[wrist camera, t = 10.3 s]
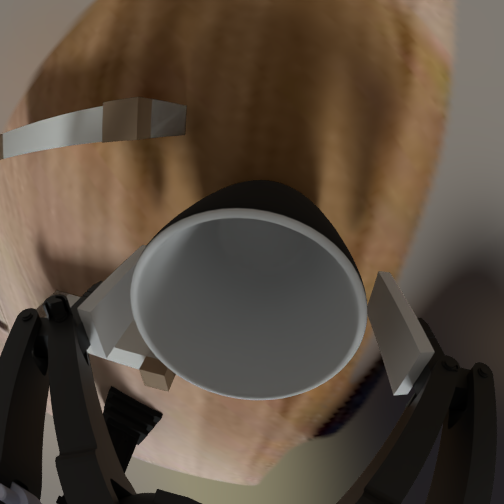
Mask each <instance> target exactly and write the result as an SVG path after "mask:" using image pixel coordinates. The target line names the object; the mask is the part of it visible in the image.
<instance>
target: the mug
mask: <svg viewBox="0 0 504 504" xmlns="http://www.w3.org/2000/svg"><path fill="white" fill-rule="evenodd" d="M130 302H131V309H132V313H133V317H134V320H135V323H136V325H137V328H138V330H139V332H140V334H141V336H142V338H143V339H144V341H145V343H146V344H147V346H148V347H149V348H150V350H151V351H152V352H153V353H154V354H155V356H156V357H157V358H158V359H159V360H160V361H161V362H162V363H163V364H164V365H165V366H167V367H168V368H169V369H170V370H171V371H173V372H174V373H175V374H177V375H178V376H180V377H181V378H183V379H184V380H186V381H188V382H190V383H192V384H193V385H195V386H198V387H200V388H202V389H204V390H207V391H210V392H213V393H216V394H219V395H223V396H227V397H232V398H237V399H246V400H272V399H280V398H286V397H290V396H294V395H298V394H301V393H304V392H306V391H309V390H311V389H313V388H315V387H318V386H319V385H321V384H323V383H325V382H326V381H328V380H329V379H331V378H332V377H333V376H335V375H336V374H337V373H338V372H339V371H340V370H341V369H342V368H343V367H344V366H345V365H346V364H347V363H348V362H349V361H350V360H351V358H352V357H353V356H354V354H355V352H356V351H357V349H358V347H359V345H360V343H361V341H362V338H363V336H364V333H365V328H366V324H367V299H366V293H365V289H364V285H363V282H362V279H361V276H360V273H359V271H358V269H357V266H356V264H355V262H354V260H353V258H352V256H351V254H350V252H349V250H348V249H347V247H346V245H345V244H344V242H343V240H342V239H341V237H340V236H339V234H338V232H337V231H336V229H335V228H334V227H333V225H332V224H331V223H330V221H329V220H328V219H327V218H326V216H325V215H324V214H323V213H322V212H321V210H320V209H319V208H318V207H317V206H316V205H315V204H314V203H313V202H312V201H310V200H309V199H308V198H307V197H305V196H304V195H303V194H301V193H300V192H298V191H297V190H295V189H293V188H291V187H289V186H287V185H284V184H281V183H278V182H274V181H267V180H253V181H246V182H241V183H237V184H234V185H231V186H228V187H226V188H223V189H221V190H219V191H217V192H215V193H213V194H211V195H209V196H207V197H205V198H203V199H202V200H200V201H198V202H197V203H195V204H194V205H192V206H191V207H189V208H188V209H186V210H185V211H183V212H182V213H180V214H179V215H178V216H176V217H175V218H174V219H173V220H171V221H170V222H169V223H168V224H167V225H166V226H165V227H163V228H162V229H161V230H160V231H159V232H158V233H157V234H156V235H155V236H154V238H153V239H152V240H151V241H150V242H149V243H148V244H147V246H146V247H145V249H144V250H143V252H142V253H141V255H140V257H139V259H138V261H137V263H136V265H135V268H134V271H133V274H132V279H131V286H130Z"/></svg>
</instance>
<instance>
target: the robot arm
mask: <svg viewBox="0 0 504 504" xmlns="http://www.w3.org/2000/svg"><path fill="white" fill-rule="evenodd" d="M146 246H147V245H142V246H141V247H140V248H138V249H137V250H136V251H135V252H134V253H133V254H132V255H131V256H130V257H129V258H128V259H127V260H125V261H124V262H123V263H122V264H121V265H120V266H119V267H118V268H117V269H116V270H115V271H114V272H113V273H112V274H111V275H110V276H109V277H108V278H107V279H106V280H105V281H104V282H102V281H100V282H98V283H96V284H94V285H93V286H92V287H91V288H89V289H88V290H87V292H85V293H84V294H83V296H81V297H80V298H79V299H78V300H77V301H76V302H75V303H74V304H73V305H72V306H71V307H70V305H69V302H68V299H67V297H66V296H65V295H61V294H58V295H53V296H51V297H49V298H47V299H46V300H45V301H44V303H43V308H44V310H45V313H46V316H47V318H43V317H39V314H38V312H37V310H36V309H33V308H29V309H25V310H23V311H22V312H21V313H19V315H18V316H17V318H16V320H15V322H14V325H13V327H12V329H11V331H10V334H9V336H8V338H7V341H6V343H5V346H4V348H3V351H2V353H1V356H0V504H41V502H40V497H41V488H42V446H43V431H44V420H45V412H46V405H47V398H48V391H49V385H50V395H51V404H52V412H53V419H54V425H55V430H56V436H57V441H58V446H59V451H60V455H59V456H57V457H56V460H55V462H56V468H57V472H58V476H59V479H60V483H61V486H62V490H63V493H64V496H65V499H66V502H67V504H201V503H199V502H197V501H195V500H193V499H190V498H188V497H185V496H181V495H177V494H173V493H170V492H166V491H163V490H159V489H157V491H156V493H140V494H136V492H135V490H134V488H133V487H132V485H131V483H130V482H129V481H128V479H127V477H126V476H125V474H124V472H123V469H122V467H121V465H120V462H119V460H118V457H117V454H116V452H115V449H114V446H113V444H112V441H111V438H110V435H109V432H108V429H107V426H106V423H105V420H104V416H103V413H102V410H101V406H100V403H99V399H98V395H97V391H96V387H95V383H94V379H93V374H92V369H91V365H90V360H89V355H88V353H87V349H88V348H89V347H90V345H91V348H92V350H93V353H94V354H95V355H98V356H101V357H104V358H107V357H108V356H109V354H110V353H111V351H112V350H113V348H114V347H115V345H116V344H117V342H118V341H119V339H120V338H121V336H122V335H123V333H124V332H125V331H126V329H127V328H128V326H129V325H130V323H131V322H132V321H133V319H134V317H133V313H132V309H131V302H130V286H131V279H132V274H133V271H134V268H135V265H136V263H137V261H138V259H139V257H140V255H141V253H142V252H143V250H144V249H145V247H146ZM367 314H368V317H369V320H370V323H371V325H372V328H373V331H374V334H375V337H376V340H377V343H378V346H379V349H380V352H381V355H382V358H383V361H384V365H385V368H386V371H387V374H388V378H389V381H390V385H391V388H392V392H393V395H403V394H408V392H409V391H410V390H411V388H412V387H414V389H415V394H414V395H413V396H412V397H411V399H410V400H409V402H408V403H407V404H406V405H405V406H406V409H405V410H404V412H403V414H402V416H401V417H400V419H399V421H398V422H397V424H396V426H395V428H394V429H393V430H392V432H391V434H390V435H389V437H388V438H387V440H386V441H385V443H384V444H383V446H382V447H381V449H380V450H379V452H378V453H377V454H376V456H375V457H374V459H373V460H372V461H371V463H370V464H369V465H368V467H367V468H366V469H365V471H364V472H363V473H362V474H361V476H360V477H359V478H358V479H357V481H356V482H355V483H354V484H353V486H352V487H351V488H350V489H349V490H348V491H347V492H346V494H345V495H344V496H343V497H342V498H341V499H340V500H339V501H338V502H337V503H336V504H401V502H402V501H403V499H404V498H405V496H406V495H407V493H408V491H409V489H410V488H411V486H412V485H413V483H414V481H415V480H416V478H417V476H418V474H419V472H420V471H421V469H422V467H423V465H424V463H425V461H426V459H427V457H428V455H429V453H430V451H431V449H432V447H433V445H434V442H435V440H436V438H437V436H438V433H439V431H440V429H441V426H442V424H443V429H442V435H441V441H440V447H439V452H438V457H437V462H436V466H435V471H434V475H433V479H432V483H431V486H430V490H429V493H428V497H427V500H426V503H425V504H490V501H491V495H492V489H493V481H494V473H495V462H496V445H497V417H496V399H495V388H494V379H493V373H492V371H491V369H490V368H489V367H488V366H487V365H486V364H484V363H480V362H478V363H475V365H474V366H473V367H472V369H471V370H469V369H464V368H460V366H459V363H458V362H457V361H456V360H455V359H454V358H452V357H450V356H447V355H445V354H444V353H443V351H442V349H441V347H440V345H439V343H438V341H437V339H436V338H435V336H434V334H433V332H432V330H431V329H430V327H429V325H428V324H427V323H426V322H425V321H424V320H423V319H422V318H417V317H416V315H415V314H414V312H413V311H412V308H411V307H410V305H409V303H408V301H407V300H406V298H405V297H404V295H403V293H402V292H401V290H400V288H399V286H398V285H397V283H396V281H395V280H394V278H393V277H392V275H391V273H390V272H381V271H378V274H377V278H376V281H375V284H374V287H373V291H372V294H371V297H370V300H369V303H368V306H367Z"/></svg>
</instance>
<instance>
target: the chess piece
mask: <svg viewBox="0 0 504 504" xmlns="http://www.w3.org/2000/svg"><path fill="white" fill-rule="evenodd" d="M162 415H163V414H161V413H159V412H157V411H155V410H153V409H151V408H149V407H147V406H146V405H144V404H142V403H140V402H138V401H136V400H134V399H133V398H131V397H129V396H127V395H126V394H124V393H122V392H121V391H119V390H117V389H116V388H114V387H112V386H111V388H110V390H109V393H108V396H107V399H106V403H105V406H104V412H103V416H104V420H105V423H106V426H107V429H108V432H109V435H110V438H111V441H112V444H113V446H114V449H115V452H116V454H117V457H118V460H119V462H120V465H121V467H122V469H123V472H124V474H125V471H126V469H127V466H128V464H129V461H130V459H131V456H132V454H133V452H134V449H135V447H136V444H137V445H139V444H140V443H141V442H142V441H143V440H144V439H145V437H146V436H147V435H148V433H149V432H150V431H151V430H152V429H153V428H154V427H155V425H156V424H157V423H158V422H159V421H160V420H161V418H162ZM56 503H57V504H67V502H66V499H65V496H64V495H63V496H62V497H61V496H59V497H58V499H57V501H56Z"/></svg>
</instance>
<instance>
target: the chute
mask: <svg viewBox="0 0 504 504" xmlns="http://www.w3.org/2000/svg"><path fill="white" fill-rule="evenodd" d="M186 107H187V106H185V105H181V104H176V103H171V102H166V101H160V100H155V99H149V98H143V97H133V98H126V99H120V100H114V101H108V102H103V106H100V107H95V108H90V109H85V110H80V111H76V112H71V113H67V114H63V115H59V116H56V117H52V118H48V119H45V120H41V121H38V122H35V123H32V124H29V125H26V126H23V127H20V128H17V129H14V130H11V131H9V132H6V133H3V134H0V160H1V159H4V158H8V157H13V156H17V155H21V154H26V153H31V152H36V151H41V150H46V149H52V148H58V147H64V146H71V145H78V144H86V143H94V142H102V143H103V142H113V141H126V140H139V139H147V138H156V137H166V136H178V135H185V126H186ZM58 294H61V295H65V296H66V297H67V299H68V302H69V305H70V307H71V306H72V305H73V304H74V303H75V302H76V301H77V300H78V299H79V298H80V297H79V296H75V295H71V294H68V293H64V292H61V291H56V292H55V293H53V294H52V295H51V296H53V295H58ZM51 296H50V297H51ZM36 310H37V312H38V314H39V317H43V318H47V316H46V313H45V310H44V308H43V304H42V305H40V306H39V307H38V308H37V309H36ZM87 353H90V354H93V355H95V354H94V353H93V350H92V348H91V345H90V347H89V348H88V349H87ZM95 356H98V355H95ZM98 357H101V356H98ZM101 358H104V357H101ZM104 359H107V360H110V361H113V362H116V363H119V364H122V365H126V366H129V367H132V368H136V369H139V370H140V373H141V376H142V379H143V382H144V385H145V386H149V387H153V388H156V389H160V390H164V391H169V389H170V387H171V384H172V382H173V379H174V377H175V375H176V374H175V373H174V372H173V371H171V370H170V369H169V368H168V367H167V366H165V365H164V364H163V363H162V362H161V361H160V360H159V359H158V358H157V357H156V356H155V354H154V353H153V352H152V351H151V350H150V348H149V347H148V346H147V344H146V343H145V341H144V339H143V338H142V336H141V334H140V332H139V330H138V328H137V325H136V323H135V320H134V319H133V321H132V322H131V323H130V325H129V326H128V328H127V329H126V331H125V332H124V333H123V335H122V336H121V338H120V339H119V341H118V342H117V344H116V345H115V347H114V348H113V350H112V351H111V353H110V354H109V356H108V357H107V358H104Z"/></svg>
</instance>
